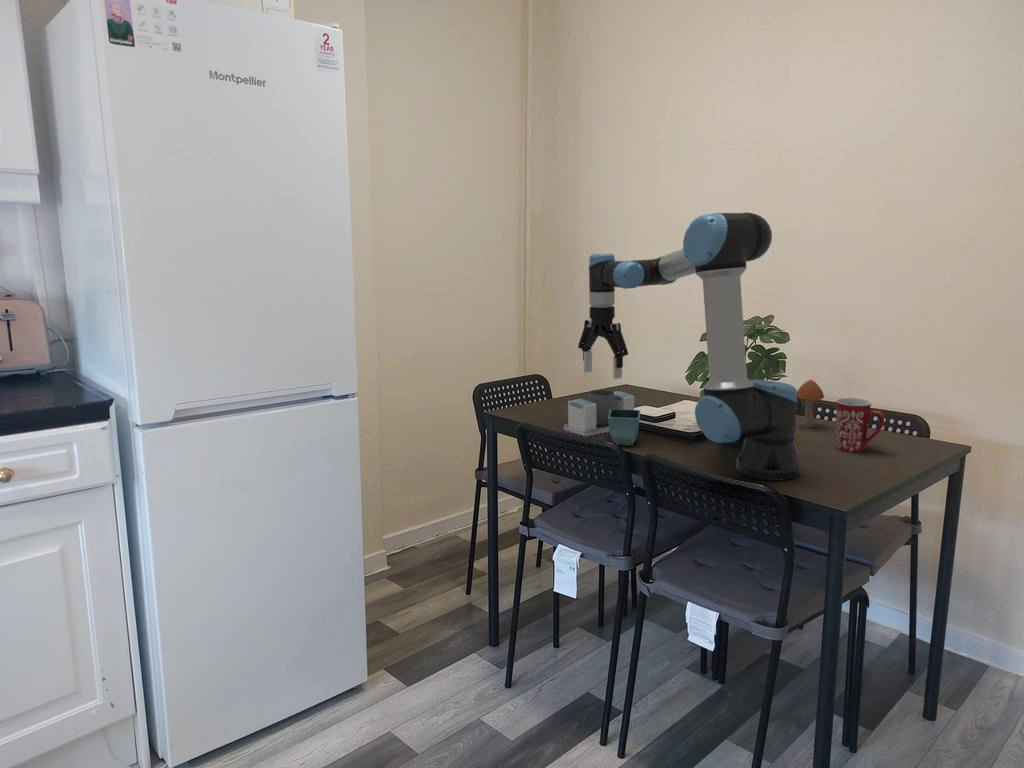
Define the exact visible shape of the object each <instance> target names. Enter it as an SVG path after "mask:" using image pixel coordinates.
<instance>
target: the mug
mask: <svg viewBox="0 0 1024 768" xmlns="http://www.w3.org/2000/svg"><path fill="white" fill-rule="evenodd" d="M872 403H873V402H872V401H871V400H869V399H864V398H860V397H839V398H836V399H835V405H836V406H835V448H836V449H838V450H840V451H843V452H847V453H848V452H849V453H859V452H864V451H865V449H866V444H868V443H869V442H871V441H872V440H873V439H874V438H875V437H876V436H877V435H879V433H880V432H881V430H883V427H884V424H885V416H884V414H883V413H882V412H881V411H879V410H876V409H875V410H871V406H872ZM873 415H877V416H878V417H879V422H880V423H879V425H878V427H877V429H876V430H875V431H874V432H873V434H871V435H870V436H869V437H867V435H868V434H867V433H868V427H869V420H870V419H871V417H872V416H873Z"/></svg>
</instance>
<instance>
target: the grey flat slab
mask: <svg viewBox="0 0 1024 768" xmlns="http://www.w3.org/2000/svg"><path fill="white" fill-rule="evenodd" d="M563 431H566V432H568V431H569V432H568V433H571V434H573V433H575V434H574V435H576V434H579V435H583V436H589V435H593V436H596V435H595V434H597V435H601V434H600V433H602V434H606V433H610V432H609V425H604V426H600V425H596V429H592V430H587V431H583V432H582V431H580V430H577V429H574V428H571V427H569V426H568V423H565V424H563ZM605 432H606V433H605ZM579 435H578V436H579ZM589 437H590V436H589Z"/></svg>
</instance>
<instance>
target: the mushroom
mask: <svg viewBox="0 0 1024 768" xmlns="http://www.w3.org/2000/svg"><path fill="white" fill-rule="evenodd" d="M824 398H825V395H824V392H823V390H822V389H821V387H820V386H819V384H818V383H816V381H814V380H812V379H808V380H807V381H805V382H804V383H803V384H801V386H800V387H799V388H798V390H797V399H799V400H803V401H804V406H805V407H804V408H805V410H804V411H805V412H804V418H803V426H804V428H807V429H810V428H811V429H813V428H814V426H815V424H816V423H815V416H814V412H813V402H814V401H821V400H822V399H824Z"/></svg>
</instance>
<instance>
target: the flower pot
mask: <svg viewBox="0 0 1024 768" xmlns="http://www.w3.org/2000/svg"><path fill="white" fill-rule="evenodd" d="M640 415H641V410H640V409H634V410H622V409H610V412H609V416H608V422H609V432H608V433H609V436H610V438H611V441H612V443H614V442H615V443H618V444H628V445H627V446H633V445H634V443H635V441H636V440H637V437H638V433H639V426H640V418H641V417H640Z"/></svg>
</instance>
